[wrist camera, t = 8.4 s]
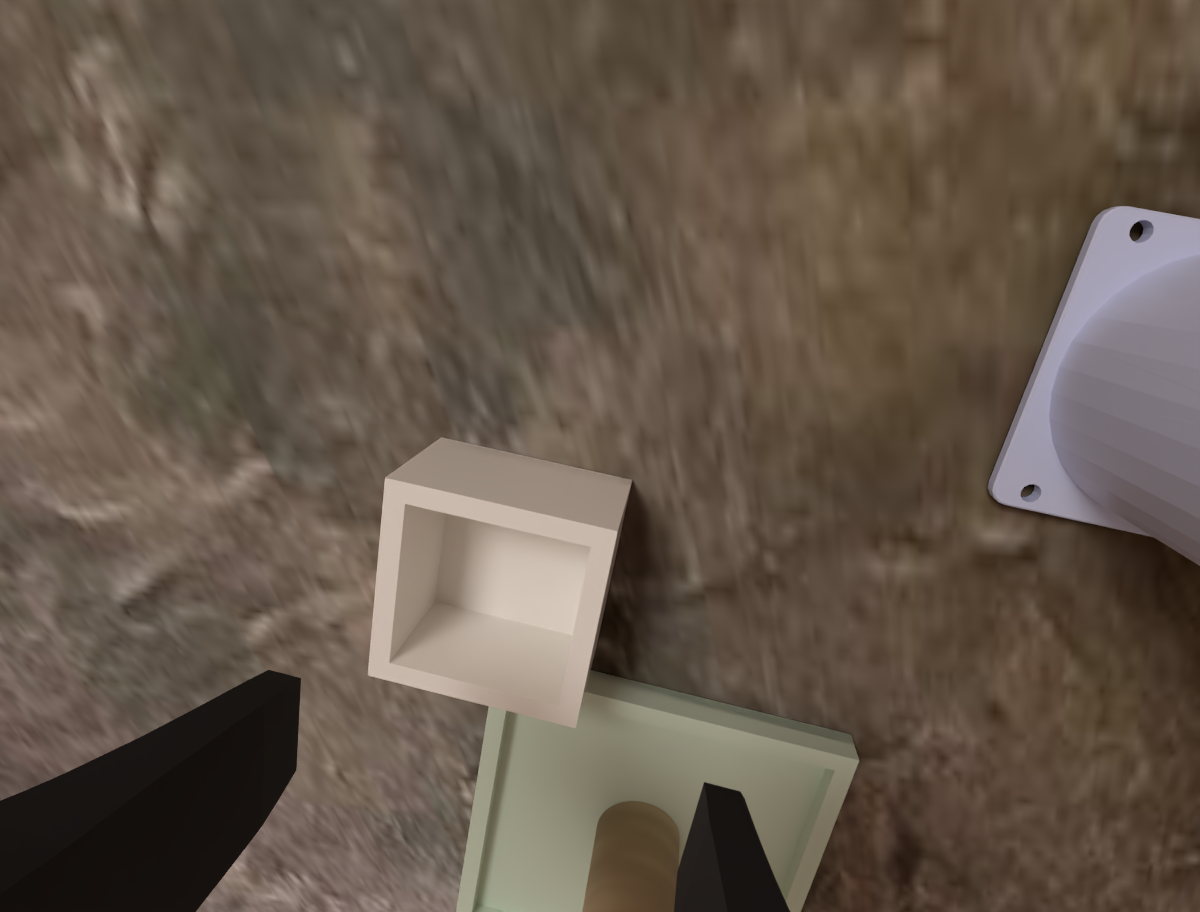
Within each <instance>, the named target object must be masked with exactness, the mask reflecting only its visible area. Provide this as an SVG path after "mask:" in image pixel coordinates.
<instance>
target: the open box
mask: <svg viewBox="0 0 1200 912" xmlns="http://www.w3.org/2000/svg"><path fill="white" fill-rule="evenodd" d="M631 484H632V480H630V479H625V478H621V477H617V476H612V475H608V474H603V473H599V472H594V471H590V470H585V469H581V468H576V467H572V466H567V465H563V464H558V463H554V462H550V461H545V460H541V459H536V458H532V457H527V456H523V455H518V454H514V453H509V452H505V451H500V450H496V449H491V448H487V447H483V446H478V445H474V444H469V443H465V442H460V441H456V440H451V439H447V438H442V437H441V438H440V439H438V440H437V441H436V442H434V443H433V444H431V445H430V446H429V447H427V448H426V449H425V450H423V451H422V452H420V453H419V454H418V455H416V456H415V457H413V458H412V459H411V460H409V461H408V462H406V463H405V464H404V465H402V466H401V467H399V468H398V469H397V470H395V471H394V472H392V473H391V474H390V475H388V476H387V477H385V485H384V496H383V508H382V519H381V531H380V542H379V553H378V565H377V576H376V588H375V599H374V611H373V622H372V633H371V645H370V656H369V668H368V676H372V677H376V678H380V679H384V680H388V681H392V682H396V683H400V684H404V685H408V686H412V687H416V688H419V689H423V690H427V691H431V692H435V693H439V694H443V695H447V696H451V697H455V698H459V699H463V700H467V701H470V702H474V703H478V704H482V705H486V706H490V707H494V708H498V709H502V710H506V711H510V712H514V713H517V714H521V715H525V716H529V717H533V718H537V719H541V720H545V721H549V722H553V723H557V724H561V725H565V726H568V727H572V728H576V726H577V722H578V718H579V714H580V710H581V706H582V702H583V698H584V694H585V690H586V686H587V682H588V678H589V675H590V671H591V667H592V663H593V659H594V655H595V651H596V647H597V642H598V638H599V633H600V628H601V624H602V619H603V614H604V610H605V605H606V600H607V596H608V591H609V586H610V582H611V577H612V572H613V568H614V563H615V558H616V554H617V549H618V544H619V540H620V535H621V530H622V526H623V521H624V516H625V512H626V507H627V502H628V498H629V493H630V488H631Z"/></svg>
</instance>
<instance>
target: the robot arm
mask: <svg viewBox="0 0 1200 912" xmlns="http://www.w3.org/2000/svg"><path fill="white" fill-rule="evenodd" d="M1136 222H1139V223H1141V224H1142V226H1143V234H1142V235H1141V237H1140V238H1139V239H1138V240H1137V241H1135V242H1134V241H1132V240H1131V238H1130V236H1129V233H1130V229H1131V227H1132V226H1133V225H1134V224H1135V223H1136ZM1029 484H1034V491H1033V492H1032V494H1031V495H1029V496H1027V497H1021V496H1020V495H1021V490H1022V489H1023V488H1024V487H1025V486H1027V485H1029ZM988 490H989V493H990V495H991V496H992V497H993V498H994V499H995V500H996V501H998V502H999V503H1001V504H1004V505H1007V506H1012V507H1016V508H1021V509H1026V510H1030V511H1035V512H1039V513H1044V514H1049V515H1053V516H1058V517H1063V518H1067V519H1072V520H1076V521H1081V522H1086V523H1090V524H1095V525H1099V526H1104V527H1109V528H1113V529H1118V530H1122V531H1127V532H1132V533H1136V534H1141V535H1145V536H1150V537H1154V538H1156V539H1157V540H1159V541H1160V542H1162V543H1164V544H1165V545H1167V546H1168V547H1170V548H1172V549H1173V550H1175V551H1177V552H1178V553H1180V554H1181V555H1183V556H1185V557H1186V558H1188V559H1189V560H1191V561H1193V562H1194V563H1196V564H1198V565H1199V566H1200V219H1195V218H1190V217H1184V216H1179V215H1173V214H1168V213H1162V212H1157V211H1151V210H1146V209H1140V208H1135V207H1129V206H1119V207H1111V208H1109V209H1106V210H1104V211H1102V212H1101V213H1100V214H1099V215H1097V216H1096V217H1095V219H1094V221H1093V222H1092V224H1091V226H1090V229H1089V231H1088V234H1087V236H1086V239H1085V241H1084V244H1083V246H1082V249H1081V251H1080V254H1079V256H1078V259H1077V261H1076V264H1075V266H1074V269H1073V271H1072V274H1071V276H1070V279H1069V281H1068V284H1067V287H1066V289H1065V292H1064V294H1063V297H1062V299H1061V302H1060V304H1059V307H1058V309H1057V312H1056V314H1055V317H1054V319H1053V322H1052V324H1051V327H1050V329H1049V332H1048V334H1047V337H1046V339H1045V342H1044V344H1043V347H1042V349H1041V352H1040V354H1039V357H1038V359H1037V362H1036V364H1035V367H1034V369H1033V372H1032V374H1031V377H1030V379H1029V382H1028V384H1027V387H1026V389H1025V392H1024V394H1023V397H1022V400H1021V402H1020V405H1019V407H1018V410H1017V412H1016V415H1015V417H1014V420H1013V422H1012V425H1011V427H1010V430H1009V432H1008V435H1007V437H1006V440H1005V442H1004V445H1003V447H1002V450H1001V452H1000V455H999V457H998V460H997V462H996V465H995V467H994V470H993V472H992V475H991V477H990V480H989V484H988ZM300 685H301V678H298V677H294V676H290V675H286V674H283V673H279V672H275V671H271V670H268V671H266V672H264V673H262V674H260V675H258V676H256V677H254V678H252V679H250V680H248V681H246V682H244V683H242V684H240V685H238V686H237V687H235V688H233V689H231V690H229V691H227V692H225V693H224V694H222V695H220V696H218V697H216V698H214V699H212V700H211V701H209V702H207V703H205V704H203V705H201V706H199V707H197V708H196V709H194V710H192V711H190V712H188V713H186V714H184V715H182V716H180V717H178V718H176V719H175V720H173V721H171V722H169V723H167V724H165V725H163V726H161V727H159V728H157V729H155V730H153V731H152V732H150V733H148V734H146V735H144V736H142V737H140V738H138V739H136V740H134V741H132V742H130V743H128V744H125V745H123V746H121V747H119V748H117V749H115V750H113V751H111V752H109V753H107V754H105V755H102V756H100V757H98V758H96V759H94V760H92V761H90V762H88V763H86V764H84V765H82V766H79V767H77V768H75V769H73V770H71V771H69V772H67V773H65V774H62V775H60V776H58V777H56V778H54V779H51V780H49V781H47V782H44V783H42V784H40V785H37V786H35V787H33V788H30V789H28V790H26V791H23V792H21V793H19V794H16V795H14V796H11V797H9V798H6V799H4V800H1V801H0V912H196V911H197V909H198V908H199V907H200V905H201V904H202V903H203V902H204V900H205V899H206V898H207V897H208V895H209V894H210V893H211V891H212V890H213V889H214V888H215V886H216V885H217V884H218V882H219V881H220V880H221V879H222V877H223V876H224V875H225V874H226V872H227V871H228V870H229V868H230V867H231V866H232V864H233V863H234V862H235V861H236V859H237V858H238V857H239V855H240V854H241V853H242V852H243V850H244V849H245V848H246V846H247V845H248V844H249V842H250V841H251V840H252V839H253V837H254V836H255V835H256V833H257V832H258V831H259V829H260V828H261V827H262V825H263V823H264V822H265V820H266V819H267V817H268V815H269V814H270V812H271V811H272V809H273V808H274V806H275V804H276V803H277V801H278V800H279V798H280V796H281V795H282V793H283V791H284V790H285V788H286V786H287V785H288V783H289V781H290V780H291V778H292V776H293V775H294V773H295V771H296V766H297V746H298V725H299V705H300ZM674 912H790V910H789V908H788V906H787V903H786V901H785V899H784V897H783V895H782V892H781V890H780V888H779V886H778V883H777V881H776V879H775V876H774V874H773V871H772V869H771V867H770V864H769V862H768V859H767V857H766V854H765V852H764V849H763V847H762V844H761V842H760V839H759V836H758V834H757V831H756V829H755V826H754V823H753V820H752V818H751V815H750V812H749V809H748V806H747V804H746V801H745V798H744V797H743V795H742V793H741V792H740V791H737V790H733V789H729V788H725V787H721V786H718V785H714V784H710V783H706V782H704V784H703V787H702V791H701V794H700V798H699V801H698V804H697V808H696V811H695V814H694V818H693V821H692V824H691V828H690V831H689V834H688V838H687V841H686V845H685V848H684V851H683V855H682V858H681V861H680V865H679V868H678V871H677V881H676V893H675V905H674Z"/></svg>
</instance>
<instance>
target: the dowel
mask: <svg viewBox="0 0 1200 912" xmlns="http://www.w3.org/2000/svg"><path fill="white" fill-rule="evenodd" d="M678 868H679V831H678V828H677V826H676V824H675V822H674V821H673V819H672V818H671V817H670V816H669V815H668V814H667V813H666V812H664V811H663V810H661V809H660V808H658V807H656V806H654V805H651V804H648V803H645V802H639V801H627V802H621V803H618V804H615V805H613V806H611V807H609V808H608V809H607V810H606V811H605V812H604V813H603V814H602V815H601V817H600V818H599V820H598V824H597V829H596V835H595V840H594V846H593V852H592V858H591V864H590V869H589V875H588V881H587V887H586V892H585V898H584V904H583V910H582V912H674V905H675V893H676V881H677V871H678Z"/></svg>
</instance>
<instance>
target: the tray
mask: <svg viewBox="0 0 1200 912" xmlns="http://www.w3.org/2000/svg"><path fill="white" fill-rule="evenodd" d="M858 763H859V758H858V755H857V752H856V749H855V746H854V742H853V739H852V736H851V734H847V733H843V732H839V731H835V730H831V729H827V728H823V727H819V726H815V725H811V724H807V723H803V722H799V721H795V720H791V719H787V718H783V717H779V716H775V715H771V714H766V713H762V712H758V711H754V710H750V709H746V708H742V707H738V706H734V705H730V704H726V703H722V702H718V701H714V700H710V699H706V698H702V697H698V696H694V695H690V694H686V693H682V692H678V691H674V690H670V689H666V688H661V687H657V686H653V685H649V684H645V683H641V682H637V681H633V680H629V679H625V678H621V677H617V676H613V675H609V674H605V673H601V672H597V671H593V670H591V671H590V675H589V678H588V682H587V686H586V690H585V694H584V698H583V702H582V706H581V710H580V714H579V718H578V722H577V726H576V728H572V727H568V726H565V725H561V724H557V723H553V722H549V721H545V720H541V719H537V718H533V717H529V716H525V715H521V714H517V713H514V712H510V711H506V710H502V709H498V708H494V707H490V706H489V708H488V715H487V721H486V727H485V734H484V740H483V746H482V752H481V759H480V765H479V771H478V777H477V784H476V790H475V796H474V802H473V809H472V815H471V821H470V828H469V834H468V840H467V846H466V853H465V859H464V865H463V871H462V878H461V884H460V890H459V897H458V903H457V909H456V912H582V910H583V904H584V898H585V892H586V887H587V881H588V875H589V869H590V864H591V858H592V852H593V846H594V840H595V835H596V829H597V824H598V820H599V818H600V817H601V815H602V814H603V813H604V812H605V811H606V810H607V809H608V808H609V807H611V806H613V805H615V804H618V803H621V802H627V801H639V802H645V803H648V804H651V805H654V806H656V807H658V808H660V809H661V810H663V811H664V812H666V813H667V814H668V815H669V816H670V817H671V818H672V819H673V821H674V822H675V824H676V826H677V828H678V831H679V865H680V861H681V858H682V855H683V851H684V848H685V845H686V841H687V838H688V834H689V831H690V828H691V824H692V821H693V818H694V814H695V811H696V808H697V804H698V801H699V798H700V794H701V791H702V787H703V784H704V782H706V783H710V784H714V785H718V786H721V787H725V788H729V789H733V790H737V791H740V792H741V793H742V795H743V797H744V798H745V801H746V804H747V806H748V809H749V812H750V815H751V818H752V820H753V823H754V826H755V829H756V831H757V834H758V836H759V839H760V842H761V844H762V847H763V849H764V852H765V854H766V857H767V859H768V862H769V864H770V867H771V869H772V871H773V874H774V876H775V879H776V881H777V883H778V886H779V888H780V890H781V892H782V895H783V897H784V899H785V901H786V903H787V906H788V908H789V910H790V912H801V910H802V907H803V905H804V902H805V900H806V897H807V894H808V892H809V889H810V887H811V884H812V882H813V879H814V876H815V874H816V871H817V869H818V866H819V863H820V861H821V858H822V856H823V853H824V851H825V848H826V845H827V843H828V840H829V838H830V835H831V832H832V830H833V827H834V825H835V822H836V820H837V817H838V814H839V812H840V809H841V807H842V804H843V801H844V799H845V796H846V794H847V791H848V789H849V786H850V783H851V781H852V778H853V776H854V773H855V770H856V768H857V765H858Z"/></svg>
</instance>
